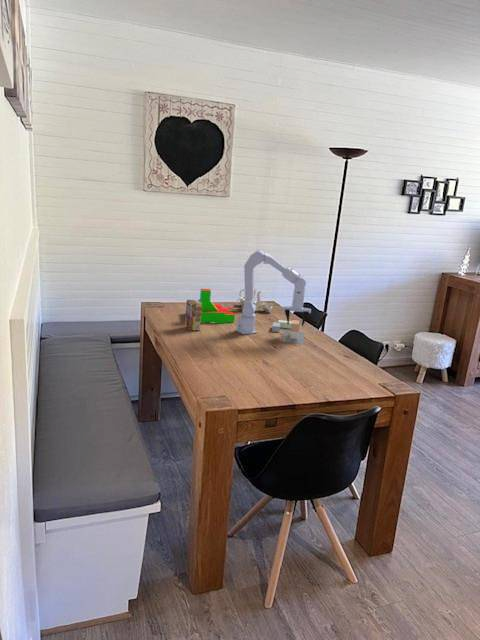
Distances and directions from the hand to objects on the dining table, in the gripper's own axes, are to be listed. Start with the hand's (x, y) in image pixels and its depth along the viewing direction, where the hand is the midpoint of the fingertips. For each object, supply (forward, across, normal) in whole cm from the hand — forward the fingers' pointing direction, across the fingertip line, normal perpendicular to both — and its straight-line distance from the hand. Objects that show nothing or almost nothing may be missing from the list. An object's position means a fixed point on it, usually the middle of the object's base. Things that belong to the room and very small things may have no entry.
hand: (295, 324), depth 251 cm
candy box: (+8, -54, -4) cm, 55 cm away
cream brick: (+7, 0, 0) cm, 7 cm away
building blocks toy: (+8, -48, +20) cm, 53 cm away
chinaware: (+8, -27, +52) cm, 59 cm away
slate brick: (+8, -10, +9) cm, 15 cm away
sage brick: (+8, -5, +17) cm, 19 cm away
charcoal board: (+7, 0, 0) cm, 7 cm away
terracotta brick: (+3, 0, 0) cm, 3 cm away
